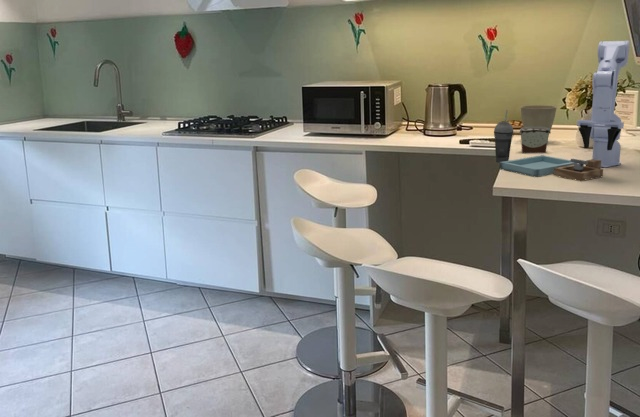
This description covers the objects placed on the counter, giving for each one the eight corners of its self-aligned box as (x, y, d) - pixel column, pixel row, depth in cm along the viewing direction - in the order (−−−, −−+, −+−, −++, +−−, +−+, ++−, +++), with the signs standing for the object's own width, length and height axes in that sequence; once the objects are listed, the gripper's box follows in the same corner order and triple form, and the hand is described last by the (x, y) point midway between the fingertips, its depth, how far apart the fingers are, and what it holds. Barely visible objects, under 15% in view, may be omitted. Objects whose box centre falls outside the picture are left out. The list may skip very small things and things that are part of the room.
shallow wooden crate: (583, 169, 225) (584, 157, 224) (610, 175, 216) (611, 162, 214) (553, 175, 218) (554, 162, 217) (580, 181, 209) (581, 167, 207)
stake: (573, 173, 219) (574, 158, 218) (588, 176, 214) (589, 160, 212) (567, 175, 218) (568, 159, 216) (582, 178, 213) (583, 162, 211)
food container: (545, 150, 263) (547, 126, 261) (549, 152, 258) (551, 128, 255) (515, 150, 265) (516, 126, 262) (518, 153, 259) (519, 128, 256)
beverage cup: (503, 159, 247) (505, 108, 242) (516, 162, 241) (519, 109, 236) (488, 161, 244) (490, 109, 239) (501, 164, 238) (503, 111, 233)
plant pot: (560, 142, 280) (563, 106, 276) (542, 146, 271) (544, 109, 267) (530, 139, 292) (532, 104, 287) (512, 143, 282) (513, 107, 278)
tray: (541, 161, 241) (542, 155, 240) (579, 168, 227) (579, 161, 226) (499, 168, 231) (499, 162, 230) (535, 176, 216) (536, 169, 216)
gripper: (574, 107, 211) (571, 148, 214) (619, 109, 201) (615, 152, 204) (583, 106, 216) (580, 146, 219) (627, 108, 205) (623, 150, 208)
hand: (597, 149), depth 211 cm, fingers open, 7 cm apart
